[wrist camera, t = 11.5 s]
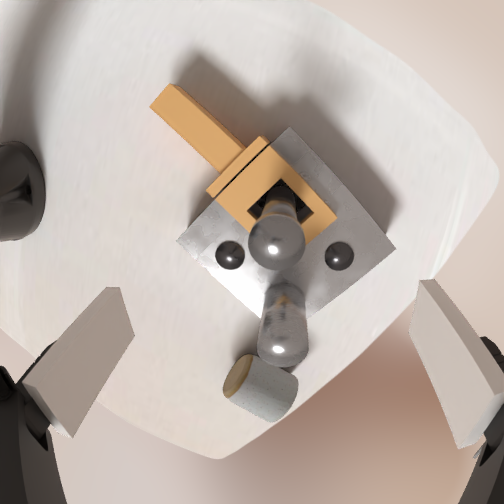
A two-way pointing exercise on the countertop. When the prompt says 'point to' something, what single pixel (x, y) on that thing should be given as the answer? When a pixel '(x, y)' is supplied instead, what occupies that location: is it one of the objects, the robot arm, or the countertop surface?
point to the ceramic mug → (260, 388)
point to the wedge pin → (277, 232)
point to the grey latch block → (304, 271)
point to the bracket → (238, 163)
